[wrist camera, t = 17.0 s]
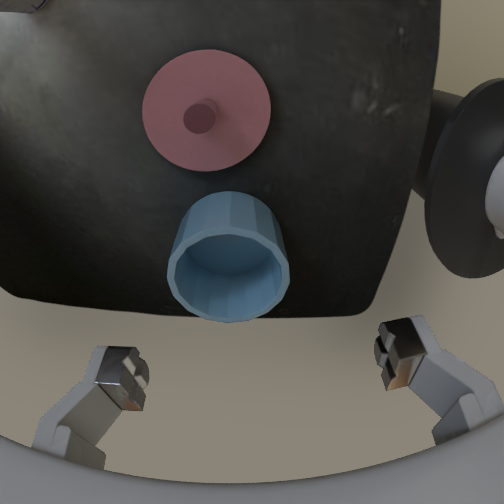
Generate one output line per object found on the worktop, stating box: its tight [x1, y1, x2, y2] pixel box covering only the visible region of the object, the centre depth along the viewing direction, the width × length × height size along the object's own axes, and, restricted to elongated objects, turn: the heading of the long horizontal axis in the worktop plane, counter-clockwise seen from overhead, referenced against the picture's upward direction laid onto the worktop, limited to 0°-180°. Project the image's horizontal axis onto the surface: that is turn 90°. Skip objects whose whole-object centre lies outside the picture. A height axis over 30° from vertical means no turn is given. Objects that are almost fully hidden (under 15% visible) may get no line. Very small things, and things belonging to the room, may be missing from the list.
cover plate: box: [142, 50, 271, 171], centre depth 26 cm, size 13×13×6 cm
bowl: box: [167, 191, 290, 323], centre depth 34 cm, size 13×13×8 cm
